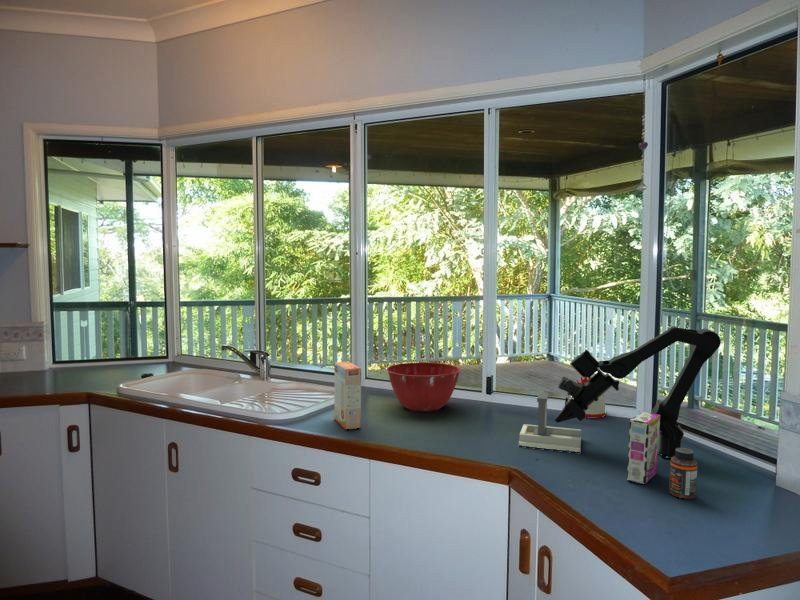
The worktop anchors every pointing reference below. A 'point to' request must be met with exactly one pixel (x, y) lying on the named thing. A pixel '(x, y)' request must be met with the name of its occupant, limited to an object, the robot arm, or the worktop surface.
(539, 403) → the slide lever
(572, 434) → the tray
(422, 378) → the mixing bowl
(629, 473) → the candy bar box
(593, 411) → the kitchen timer
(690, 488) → the supplement bottle
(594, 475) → the worktop surface
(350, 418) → the cracker box
